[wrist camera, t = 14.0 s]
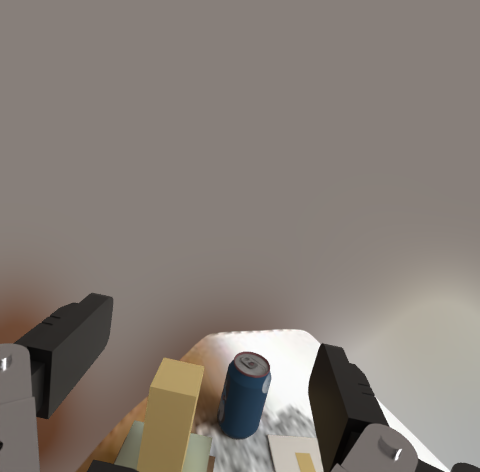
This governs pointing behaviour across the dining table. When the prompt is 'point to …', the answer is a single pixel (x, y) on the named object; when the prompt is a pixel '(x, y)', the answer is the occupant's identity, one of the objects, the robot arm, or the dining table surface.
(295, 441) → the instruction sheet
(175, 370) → the tall brick
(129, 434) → the tower base
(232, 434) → the soda can
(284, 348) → the dining table surface
